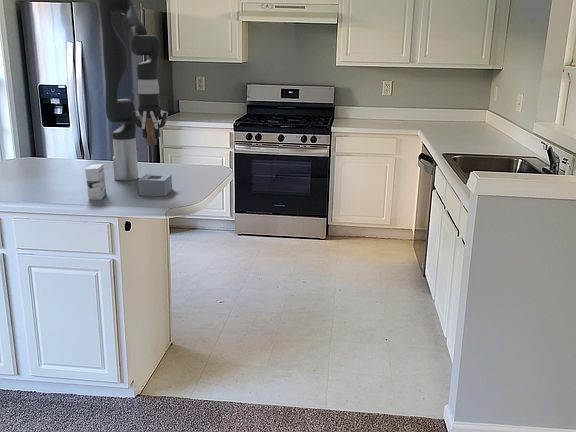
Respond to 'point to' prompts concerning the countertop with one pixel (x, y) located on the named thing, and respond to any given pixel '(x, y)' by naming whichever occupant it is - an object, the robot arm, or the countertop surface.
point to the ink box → (95, 182)
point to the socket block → (155, 185)
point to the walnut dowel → (150, 132)
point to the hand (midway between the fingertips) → (151, 138)
